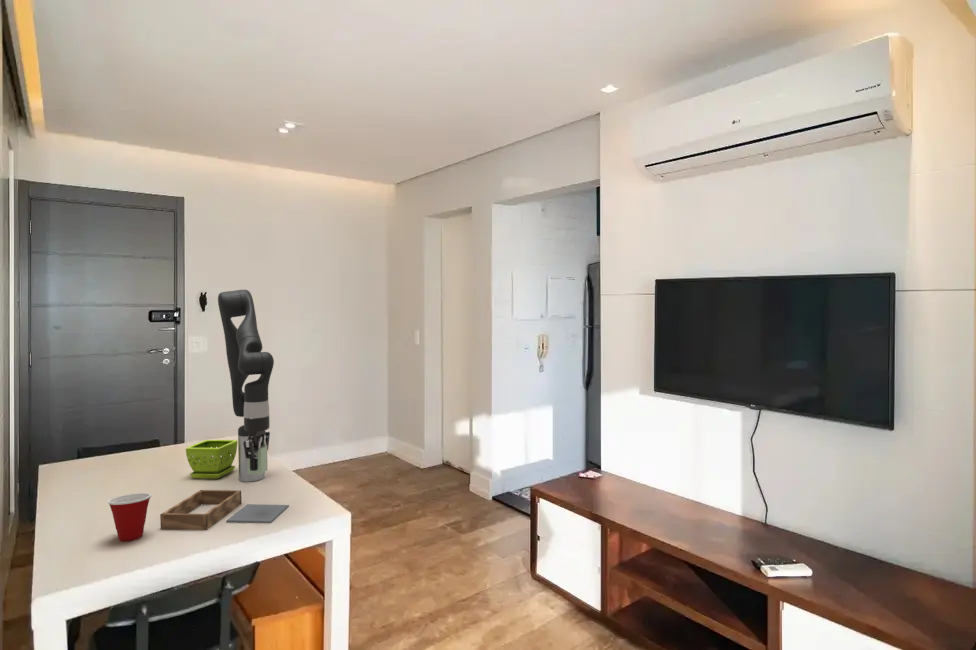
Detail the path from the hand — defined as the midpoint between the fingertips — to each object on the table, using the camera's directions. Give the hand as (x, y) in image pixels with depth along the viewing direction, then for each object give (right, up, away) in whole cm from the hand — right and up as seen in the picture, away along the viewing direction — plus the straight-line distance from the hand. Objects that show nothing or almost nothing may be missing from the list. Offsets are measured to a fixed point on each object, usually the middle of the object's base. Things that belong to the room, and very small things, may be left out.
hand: (257, 467), depth 181 cm
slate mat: (0, -15, +1) cm, 15 cm away
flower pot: (-34, -14, +41) cm, 55 cm away
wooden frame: (-17, -15, -1) cm, 23 cm away
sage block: (0, -1, 0) cm, 1 cm away
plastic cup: (-30, -16, -17) cm, 38 cm away
